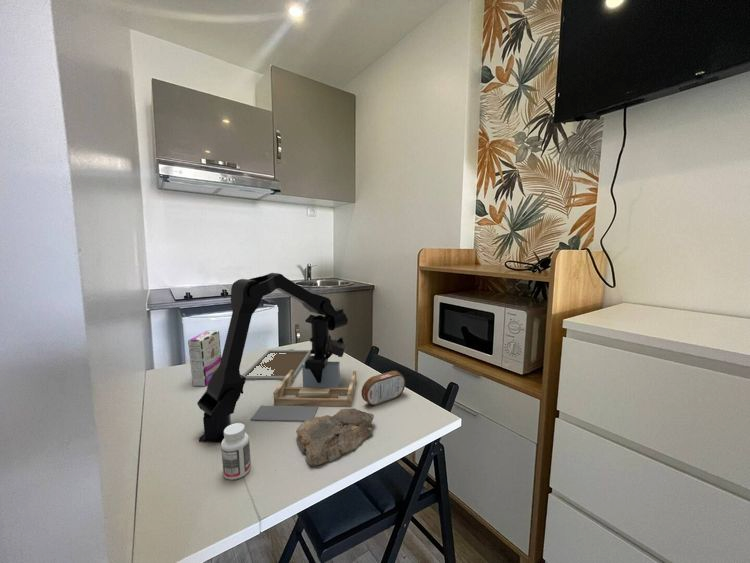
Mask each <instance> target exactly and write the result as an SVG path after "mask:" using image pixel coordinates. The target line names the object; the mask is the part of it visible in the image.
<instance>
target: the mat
mask: <svg viewBox="0 0 750 563" xmlns="http://www.w3.org/2000/svg"><path fill="white" fill-rule="evenodd" d="M318 409H319V406H291V405H260V406H259V407H258V408H257V410H256V411H255V412H254V414H253V415H252V416H251V418H250V420H261V421H260V422H289V421H297V422H296V423H299V422H298V421H300V423H304V421H306V420H308V419H311V418H315V417H316V413H317V411H318Z"/></svg>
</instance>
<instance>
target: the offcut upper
mask: <svg viewBox="0 0 750 563" xmlns="http://www.w3.org/2000/svg"><path fill="white" fill-rule="evenodd" d="M329 395H330V389H300V391H299V393H298V396H299V398H329Z"/></svg>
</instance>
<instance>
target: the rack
mask: <svg viewBox="0 0 750 563" xmlns="http://www.w3.org/2000/svg"><path fill="white" fill-rule="evenodd" d="M294 381H295V379H294V370H290V372H289V373H288V374H287V375H286V377H285V378H284V379H283V381H280V383H279V385H278V386H277V387H276V389H274V391H273V392H272V393H273V406H291V405H293V406H311V407H346V408H348V407H350V408H352V402H353V398H354V394H355V388H356V385H357V370H352V374H351V378H350V382H349V385H348V387H339V388H318V387H303V386H302V387H301V386H299V387H298V386H292V384H293V383H294ZM300 389H330V394H338V396H346V398H344V397H343V398H339V397H338V398H295V397H294V396H293V397H291V396H290V397H288V396H287V397H285V395H295V396H296V394H297V393H299V391H300Z"/></svg>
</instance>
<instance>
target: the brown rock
mask: <svg viewBox="0 0 750 563" xmlns="http://www.w3.org/2000/svg"><path fill="white" fill-rule="evenodd" d="M374 418H375V414H373V413H371V412H366V411H362V410H360V409H356V408H354V407H353V408H352V407H351V408H341V409H339V411H337V412H336V413H335V414H333V415H327V414H325V415H324V416H314V418H311V419H308V420H306V421H304V422H302V423H301V424H299V426H298V427H297V429H296V430H295V431H296V435H297V436H296V443H297V445H298V447H299V450H300V452H301V453H302V454H305V457H304V458H305V461H306V462H307V463H308V465H309V466H310V467H317V466H319V465H322V464H326V463H332V462H333V461H334V460H337V459H339V458H341V456H342V455H345V454H347V453H350V452H352V451H356V450H357V449H359V447H360V446H362V443H363V442H364V441H366V440H367V439H368V438H369V437H370V436H371V435H372V434H373V428H372V427H371V426H372V423H373V421H374ZM316 465H317V466H316Z"/></svg>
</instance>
